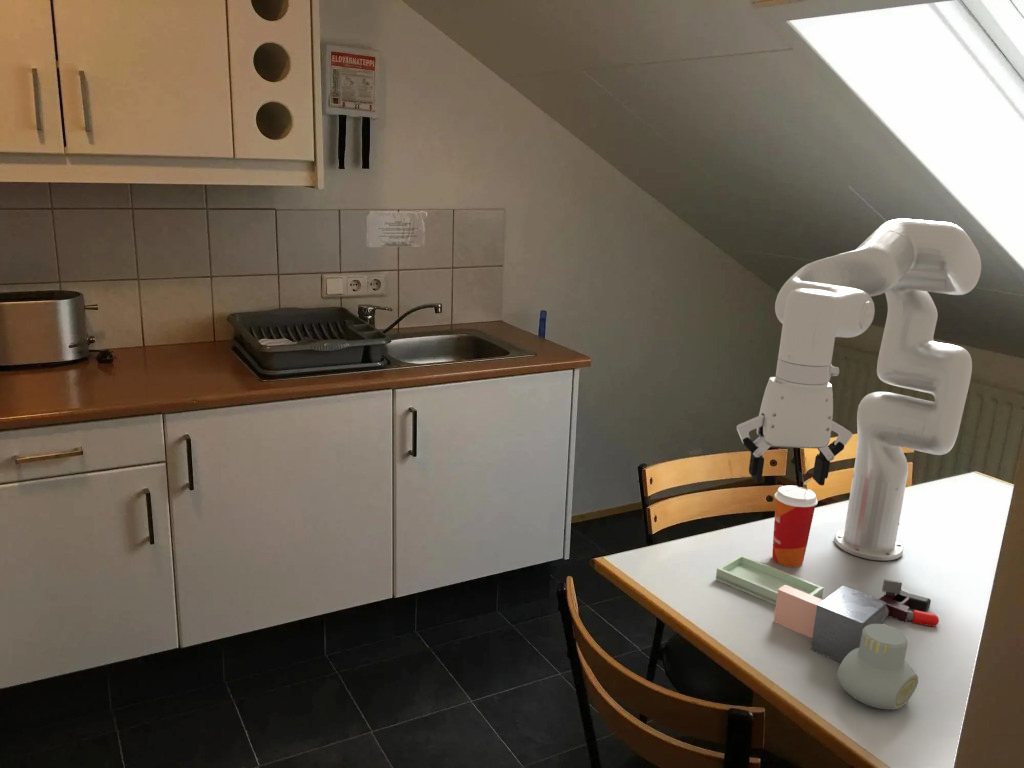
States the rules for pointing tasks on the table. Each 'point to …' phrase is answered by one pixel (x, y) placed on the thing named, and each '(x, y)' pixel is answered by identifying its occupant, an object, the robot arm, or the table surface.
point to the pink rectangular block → (796, 610)
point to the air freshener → (879, 669)
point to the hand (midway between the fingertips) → (787, 480)
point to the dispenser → (844, 622)
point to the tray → (762, 579)
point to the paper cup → (792, 524)
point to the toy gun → (906, 605)
